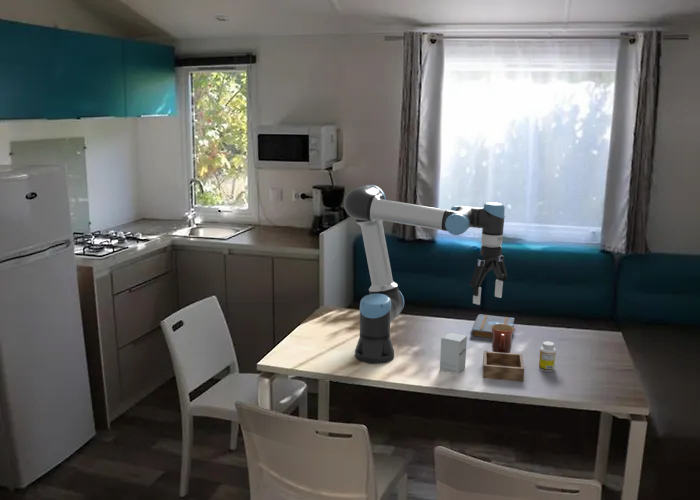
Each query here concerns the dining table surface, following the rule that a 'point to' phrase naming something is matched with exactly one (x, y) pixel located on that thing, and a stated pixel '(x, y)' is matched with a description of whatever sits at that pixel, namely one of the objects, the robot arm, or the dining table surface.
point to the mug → (502, 338)
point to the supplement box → (453, 353)
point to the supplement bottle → (547, 357)
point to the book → (488, 326)
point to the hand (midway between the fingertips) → (487, 300)
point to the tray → (503, 366)
